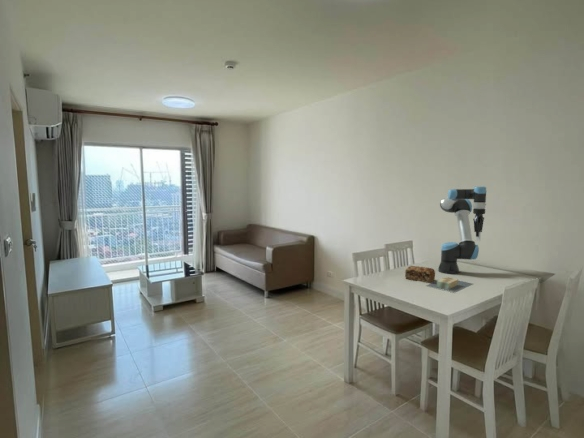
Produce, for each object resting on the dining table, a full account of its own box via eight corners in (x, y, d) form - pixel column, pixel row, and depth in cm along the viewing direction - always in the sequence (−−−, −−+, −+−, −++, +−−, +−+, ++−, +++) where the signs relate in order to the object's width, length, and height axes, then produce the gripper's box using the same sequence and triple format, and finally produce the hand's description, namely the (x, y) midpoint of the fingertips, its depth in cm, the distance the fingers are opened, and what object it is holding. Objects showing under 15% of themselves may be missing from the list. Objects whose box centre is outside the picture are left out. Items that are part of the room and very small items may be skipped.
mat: (426, 286, 235) (426, 285, 235) (445, 278, 252) (445, 277, 252) (455, 293, 219) (455, 292, 219) (473, 284, 237) (473, 283, 237)
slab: (446, 282, 241) (436, 286, 232) (446, 277, 240) (436, 280, 231) (457, 285, 234) (448, 289, 226) (458, 279, 234) (448, 283, 225)
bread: (435, 281, 247) (435, 267, 246) (428, 284, 240) (429, 270, 239) (411, 276, 260) (411, 263, 259) (404, 279, 253) (404, 266, 252)
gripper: (481, 209, 233) (479, 242, 236) (488, 208, 242) (487, 240, 244) (469, 208, 239) (468, 241, 242) (477, 207, 247) (476, 239, 250)
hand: (477, 240), depth 243 cm, fingers closed
